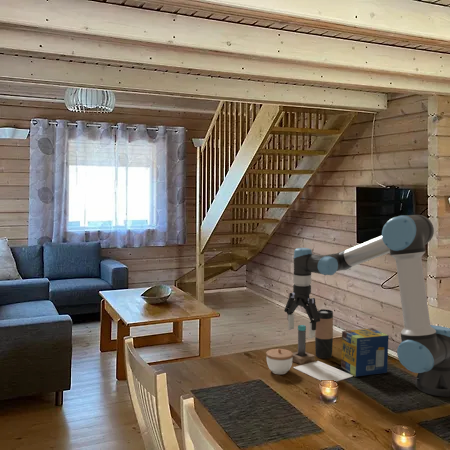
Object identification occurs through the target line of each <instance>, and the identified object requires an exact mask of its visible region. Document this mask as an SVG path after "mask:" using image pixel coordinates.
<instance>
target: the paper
mask: <svg viewBox="0 0 450 450" xmlns="http://www.w3.org/2000/svg"><path fill="white" fill-rule="evenodd" d="M293 369H294V370H297V371H299V372H301V373H303V374H306V375H308V376H310V377H311V378H314V379H316V380H318V381H320V382H322V381H321V380H334V381H336V382H335V383H337V382H339V381H343V380H346V379H350V378H353V376H354V375H352V374H350V373H349V372H347V371H345V370H344V371H343V370H341V369H338V368H336V367H334V366H333V365H332V366H331V365H329V364H327V363H325V362H322V361H319V360H317V361H316V360H315V361H314V362H310V363H306V364H302V365H300V364H299V365H296V366H293Z"/></svg>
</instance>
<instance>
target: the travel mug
mask: <svg viewBox="0 0 450 450" xmlns="http://www.w3.org/2000/svg"><path fill="white" fill-rule="evenodd" d="M317 311H318V314H319V317H320V322H317V323H316V330H315V337H314V338H315V339H314V340H315V341H314V342H315V343H314V344H315V350H314V351H315V357H317V358H319V359H330V358H332V357H333V344H334V343H333V341H334V332H333V331H334V311H333V310H331V309H325V308H322V309H320V310H317Z"/></svg>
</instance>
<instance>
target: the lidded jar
mask: <svg viewBox="0 0 450 450" xmlns="http://www.w3.org/2000/svg"><path fill="white" fill-rule="evenodd" d="M293 353H294V352H292V351H291V350H289V349H285V348H272V349H269V350H267V351H266V352H265V355H266V356H265V357H266V363H267V367H268V369H269V370H270V371H271V373H273V374H275V375H286V374H287V373H288V372H289V370H290V369H291V367H292V365H293Z"/></svg>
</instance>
